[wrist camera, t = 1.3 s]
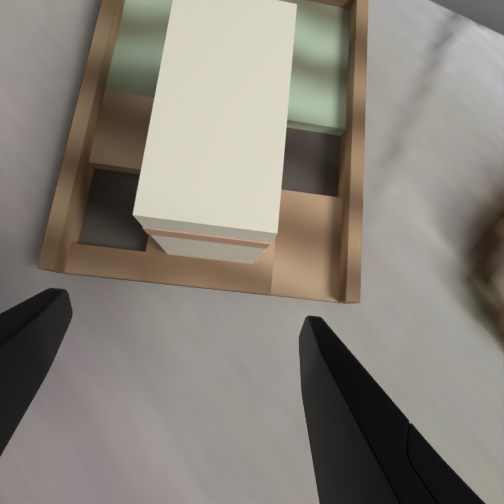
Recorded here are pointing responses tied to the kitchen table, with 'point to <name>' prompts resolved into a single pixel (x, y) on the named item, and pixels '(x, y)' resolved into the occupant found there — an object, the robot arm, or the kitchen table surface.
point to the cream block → (218, 129)
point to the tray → (294, 167)
